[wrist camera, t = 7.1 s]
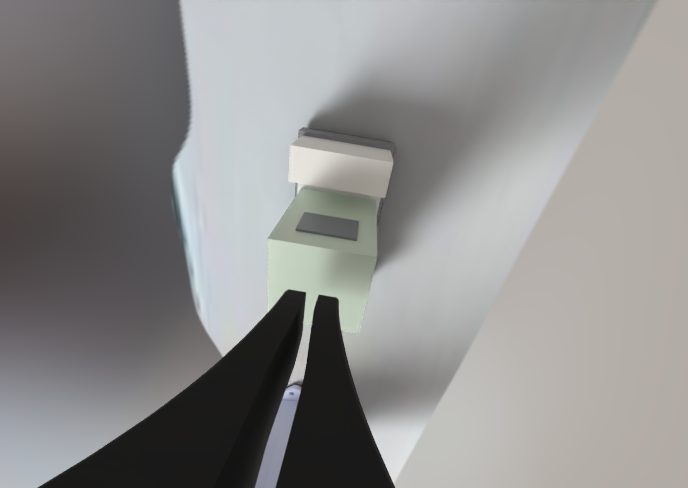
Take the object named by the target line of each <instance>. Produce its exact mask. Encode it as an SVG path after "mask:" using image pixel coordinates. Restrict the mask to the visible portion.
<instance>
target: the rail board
mask: <svg viewBox="0 0 688 488" xmlns="http://www.w3.org/2000/svg"><path fill="white" fill-rule="evenodd" d="M394 151H395V144H394V143H392V142H386V141H380V140H374V139H368V138H363V137H357V136H351V135H345V134H339V133H333V132H327V131H321V130H315V129H310V128H304V127H303V128H302V129H300V130H299V135H298V139H297V140H296V141H295V142H293V143H292V144H291V145H290V160H289V182H293V183H296V186H295V197H296V195H297V194H298V192H299V191H300V189H301V188H304V189H310V190H316V191H322V192H328V193H334V194H340V195H346V196H352V197H358V198H364V199H370V200H376V211H377V225H378V221H379V216H380V212H381V208H382V203H383V199H384V198H385V197H386V193H387V188H388V184H389V180H390V176H391V171H392V167H393V156H394Z"/></svg>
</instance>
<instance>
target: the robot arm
mask: <svg viewBox="0 0 688 488" xmlns="http://www.w3.org/2000/svg"><path fill="white" fill-rule="evenodd" d="M305 301H306V292H302V291H296V290H290V289H288V290H287V291H285V292H284V294H283V295H282V296H281V297H280V299H279V300H278V301H277V302H276V304H275V305H274V306H273V307H272V308H271V310H270V311H269V312H268V313H267V314H266V315H265V316H264V317H263V318H262V320H261V321H260V322H259V323H258V324H257V325H256V326H255V327H254V328H253V329H252V330H251V331H250V332H249V333H248V334H247V335H246V336H245V337H244V338H243V339H242V340H241V341H240V342H239V343H238V344H237V345H236V346H235V347H234V348H233V349H232V350H230V351H229V352H228V353H227V354H226V355H225V356H224V357H223V358H222V359H221V360H220V361H219V362H217V363H216V364H215V365H214V366H213V367H212V368H210V369H209V370H208V371H207V372H206V373H205V374H203V375H202V376H201V377H200V378H199V379H197V380H196V381H195V382H194V383H192V384H191V385H190V386H189V387H187V388H186V389H185V390H183V391H182V392H181V393H179V394H178V395H177V396H175V397H174V398H173V399H171V400H170V401H169V402H168V403H166V404H165V405H164V406H162V407H161V408H159V409H158V410H157V411H155V412H154V413H153V414H151V415H150V416H149V417H147V418H146V419H144V420H143V421H141V422H140V423H138V424H137V425H135V426H134V427H132V428H131V429H129V430H128V431H126V432H125V433H123V434H122V435H120V436H119V437H118V438H116V439H115V440H113V441H112V442H110V443H108V444H107V445H105V446H104V447H103V448H101V449H99V450H98V451H96V452H95V453H93V454H92V455H90V456H89V457H87V458H86V459H84V460H82V461H81V462H79V463H77V464H76V465H74V466H73V467H71V468H69V469H68V470H66V471H64V472H63V473H61V474H59V475H58V476H56V477H54V478H53V479H51V480H49V481H48V482H46V483H45V484H43V485H41V486H40V487H38V488H395V486H394V484H393V482H392V480H391V477H390V475H389V473H388V470H387V468H386V466H385V464H384V461H383V459H382V457H381V454H380V452H379V450H378V448H377V445H376V443H375V441H374V438H373V436H372V433H371V430H370V428H369V425H368V423H367V420H366V418H365V415H364V412H363V409H362V406H361V404H360V401H359V398H358V395H357V392H356V388H355V385H354V382H353V379H352V375H351V372H350V368H349V364H348V360H347V356H346V352H345V347H344V343H343V338H342V333H341V326H340V318H339V300H338V299H337V297H331V296H325V295H318V298H317V301H316V304H315V307H314V312H313V320H312V327H311V334H310V342H309V349H308V357H307V364H306V370H305V375H304V380H303V384H302V388H301V387H300V386H298V385H293V386H291V387H288V388H286V387H287V385H288V382H289V379H290V376H291V373H292V370H293V368H294V365H295V361H296V357H297V353H298V349H299V345H300V341H301V337H302V331H303V321H304V311H305Z"/></svg>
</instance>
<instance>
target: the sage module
mask: <svg viewBox="0 0 688 488" xmlns="http://www.w3.org/2000/svg"><path fill="white" fill-rule="evenodd" d="M376 261H377V211H376V200H370V199H364V198H358V197H352V196H346V195H340V194H334V193H328V192H322V191H316V190H310V189H304V188H301V189H300V191H299V192H298V194H297V195H296V197H295V198H294V200H293V201H292V203H291V204H290V206H289V207H288V209H287V210H286V212H285V213H284V215H283V216H282V218H281V219H280V221H279V222H278V224H277V225H276V227H275V228H274V230H273V231H272V233H271V234H270V236H269V237H268V287H267V313H268V312H269V311H270V310H271V308H272V307H273V306H274V305H275V304H276V302H277V301H278V300H279V299H280V297H281V296H282V295H283V294H284V292H285V291H287V290H288V289H290V290H296V291H302V292H306V301H305V311H304V321H303V324H304V325H310V326H312V320H313V312H314V307H315V304H316V301H317V298H318V295H325V296H331V297H337V299H338V300H339V318H340V326H341V331H345V332H351V333H357V334H359V331H360V327H361V323H362V319H363V315H364V311H365V307H366V303H367V298H368V294H369V290H370V286H371V282H372V278H373V274H374V269H375V265H376Z"/></svg>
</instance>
